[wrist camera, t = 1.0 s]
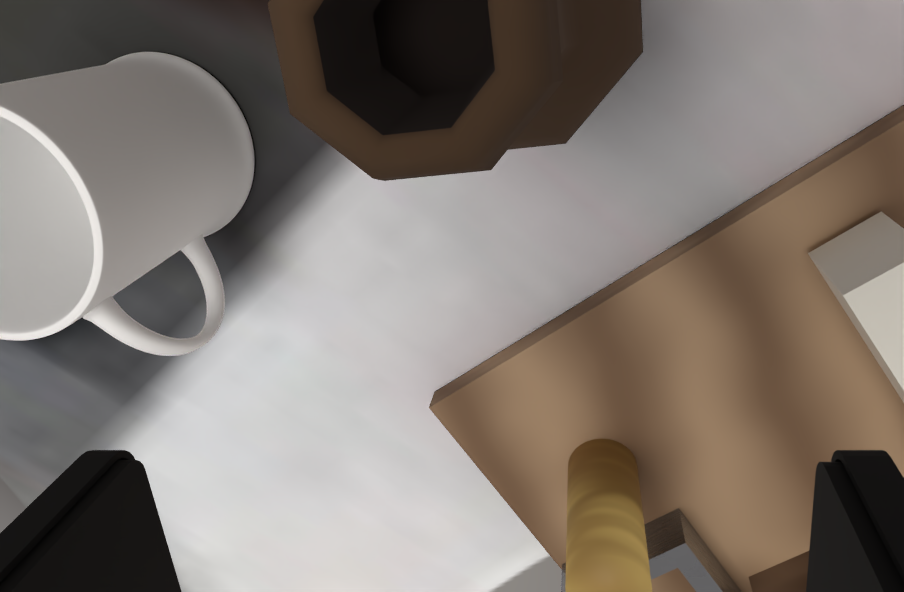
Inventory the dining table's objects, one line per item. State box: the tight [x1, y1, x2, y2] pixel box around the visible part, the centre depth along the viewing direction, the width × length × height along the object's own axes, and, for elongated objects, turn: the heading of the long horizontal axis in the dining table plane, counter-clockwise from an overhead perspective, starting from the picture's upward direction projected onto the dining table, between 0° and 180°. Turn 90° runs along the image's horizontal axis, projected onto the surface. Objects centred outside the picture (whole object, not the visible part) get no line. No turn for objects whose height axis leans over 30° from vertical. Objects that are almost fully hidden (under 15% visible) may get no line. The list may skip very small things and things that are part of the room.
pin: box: [565, 439, 652, 592], centre depth 33 cm, size 3×3×8 cm
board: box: [429, 105, 904, 592], centre depth 34 cm, size 28×20×4 cm
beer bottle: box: [268, 0, 643, 181], centre depth 20 cm, size 8×8×24 cm
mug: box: [0, 52, 255, 356], centre depth 31 cm, size 12×8×12 cm
